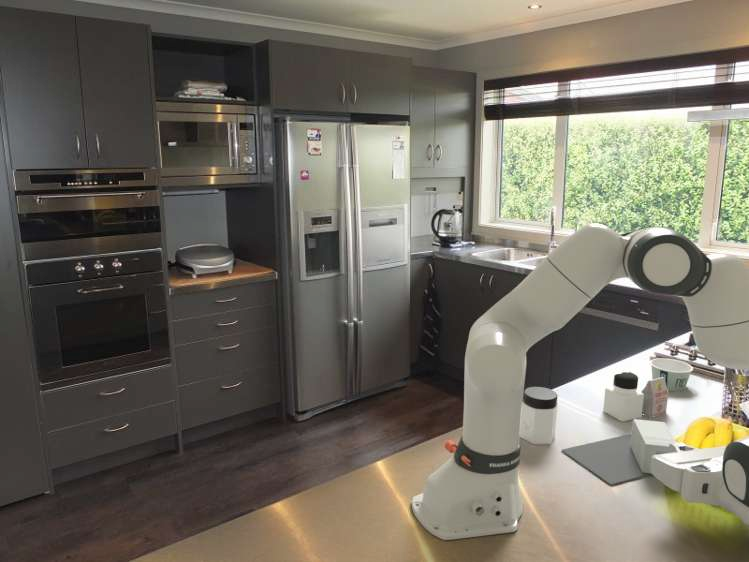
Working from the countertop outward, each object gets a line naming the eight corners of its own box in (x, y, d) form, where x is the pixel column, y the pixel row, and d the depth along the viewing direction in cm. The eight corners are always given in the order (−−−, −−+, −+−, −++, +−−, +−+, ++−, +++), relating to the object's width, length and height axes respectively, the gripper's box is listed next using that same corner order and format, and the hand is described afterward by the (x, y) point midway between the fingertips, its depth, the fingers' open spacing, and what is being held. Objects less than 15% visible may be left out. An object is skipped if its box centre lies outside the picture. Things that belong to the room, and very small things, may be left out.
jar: (512, 433, 150) (515, 389, 147) (535, 426, 154) (538, 383, 151) (538, 448, 142) (542, 403, 140) (562, 440, 146) (566, 396, 144)
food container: (658, 374, 190) (660, 355, 189) (697, 386, 182) (700, 366, 180) (640, 383, 183) (642, 363, 182) (680, 395, 174) (682, 375, 173)
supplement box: (681, 447, 128) (665, 420, 140) (645, 443, 130) (632, 417, 142) (676, 477, 130) (661, 448, 142) (641, 473, 131) (628, 445, 143)
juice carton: (638, 412, 163) (642, 378, 160) (654, 407, 166) (658, 374, 164) (650, 417, 160) (654, 383, 157) (665, 412, 163) (670, 378, 161)
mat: (610, 485, 127) (610, 484, 127) (561, 451, 141) (561, 449, 141) (684, 466, 135) (684, 464, 135) (630, 435, 150) (630, 433, 149)
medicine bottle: (641, 418, 159) (646, 376, 157) (621, 422, 157) (626, 380, 154) (622, 407, 166) (626, 367, 163) (602, 411, 163) (606, 370, 160)
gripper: (775, 460, 112) (718, 427, 125) (683, 472, 108) (634, 437, 121) (770, 489, 113) (714, 454, 127) (679, 503, 109) (631, 464, 122)
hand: (675, 445), depth 124 cm, fingers closed
